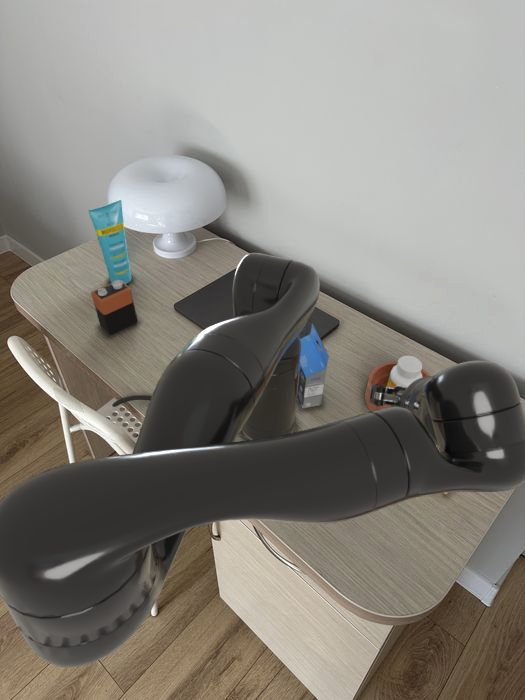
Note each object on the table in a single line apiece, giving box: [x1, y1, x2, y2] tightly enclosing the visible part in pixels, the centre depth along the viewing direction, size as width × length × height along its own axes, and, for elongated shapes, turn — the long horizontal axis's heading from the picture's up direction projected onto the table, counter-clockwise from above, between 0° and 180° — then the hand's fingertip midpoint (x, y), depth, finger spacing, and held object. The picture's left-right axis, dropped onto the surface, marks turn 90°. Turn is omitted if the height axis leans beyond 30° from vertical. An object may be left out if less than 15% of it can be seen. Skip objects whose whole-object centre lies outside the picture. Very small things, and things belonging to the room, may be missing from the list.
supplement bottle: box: [387, 355, 423, 406], centre depth 85 cm, size 5×5×10 cm
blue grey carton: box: [297, 323, 330, 409], centre depth 87 cm, size 9×4×12 cm, turn 14°
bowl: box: [364, 361, 432, 412], centre depth 87 cm, size 12×12×4 cm
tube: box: [87, 199, 132, 285], centre depth 109 cm, size 7×5×19 cm, turn 134°
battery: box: [91, 280, 138, 336], centre depth 100 cm, size 4×7×10 cm, turn 131°
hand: (417, 400), depth 72 cm, fingers open, 8 cm apart
